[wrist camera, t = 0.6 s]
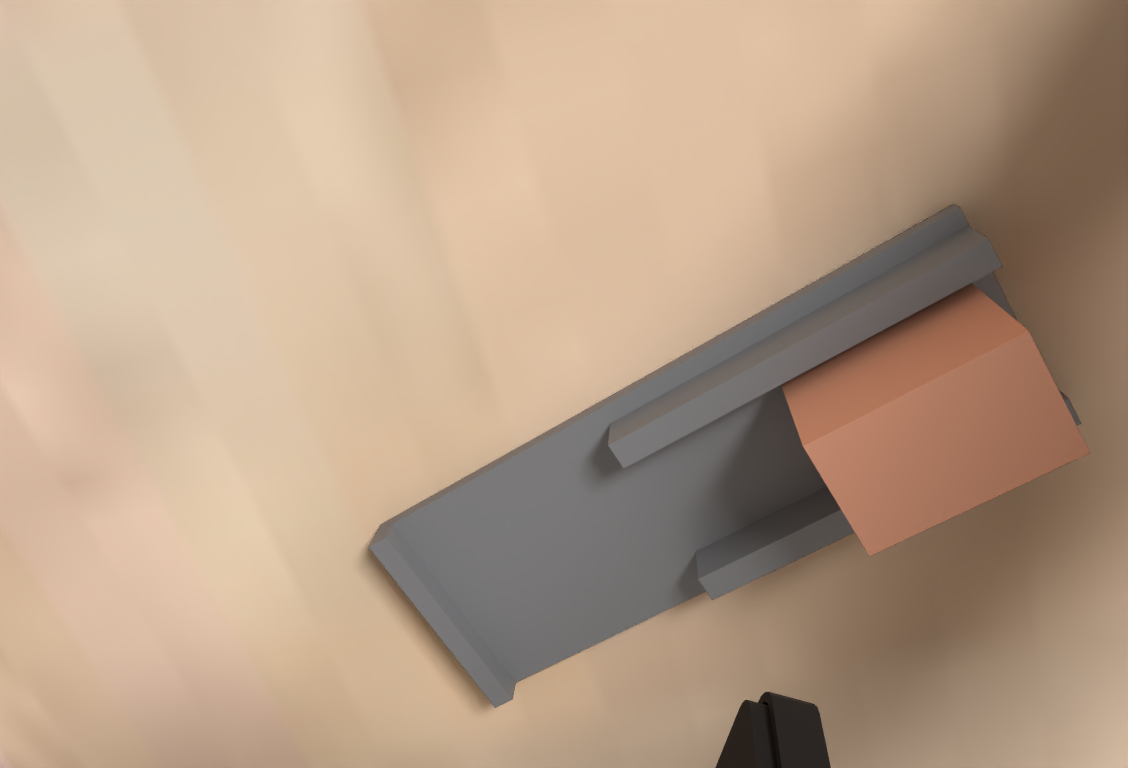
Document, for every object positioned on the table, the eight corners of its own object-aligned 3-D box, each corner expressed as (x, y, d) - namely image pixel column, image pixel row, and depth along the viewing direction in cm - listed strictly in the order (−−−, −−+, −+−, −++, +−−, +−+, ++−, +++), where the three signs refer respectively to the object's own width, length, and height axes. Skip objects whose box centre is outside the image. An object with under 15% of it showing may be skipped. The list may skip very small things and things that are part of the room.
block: (965, 278, 37) (1028, 331, 30) (1019, 382, 38) (1089, 452, 32) (778, 378, 39) (803, 446, 33) (836, 473, 40) (869, 556, 34)
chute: (953, 203, 37) (978, 219, 34) (1058, 409, 39) (1089, 440, 36) (380, 524, 44) (362, 559, 41) (501, 680, 47) (491, 722, 44)
